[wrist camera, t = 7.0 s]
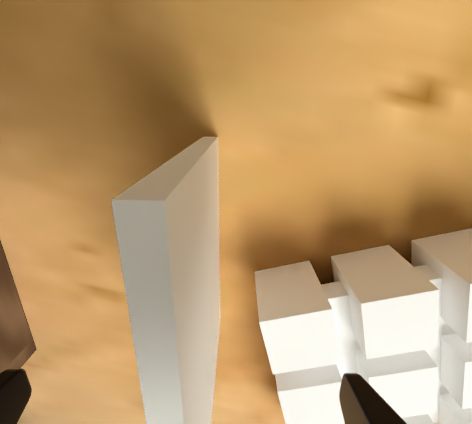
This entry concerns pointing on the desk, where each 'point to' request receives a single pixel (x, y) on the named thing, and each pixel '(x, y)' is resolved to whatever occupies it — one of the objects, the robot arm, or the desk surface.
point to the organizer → (374, 331)
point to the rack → (12, 322)
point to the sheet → (174, 282)
